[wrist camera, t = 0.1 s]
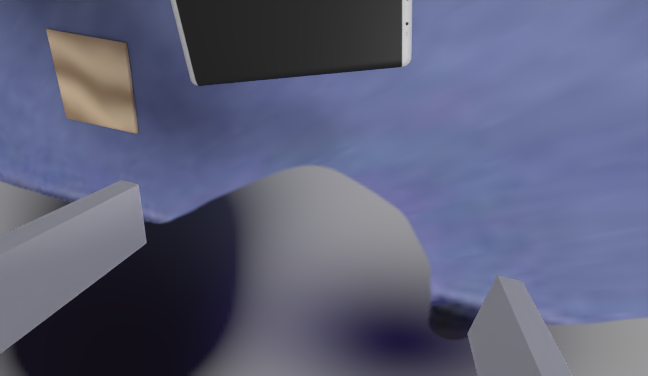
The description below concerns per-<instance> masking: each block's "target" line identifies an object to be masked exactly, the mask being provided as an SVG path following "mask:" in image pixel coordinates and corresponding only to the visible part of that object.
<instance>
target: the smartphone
mask: <svg viewBox="0 0 648 376" xmlns="http://www.w3.org/2000/svg"><path fill="white" fill-rule="evenodd" d="M170 1H171V4H172V8H173V12H174V16H175V20H176V24H177V28H178V32H179V36H180V40H181V44H182V48H183V52H184V56H185V60H186V64H187V68H188V72H189V76H190V79H191V82H192V83H193V84H194V85H196V86H203V85H213V84H224V83H235V82H245V81H256V80H267V79H278V78H288V77H299V76H310V75H320V74H331V73H342V72H352V71H363V70H374V69H384V68H395V67H404V66H406V65H408V64H409V62H410V60H411V55H412V0H170Z"/></svg>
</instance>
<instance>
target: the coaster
mask: <svg viewBox="0 0 648 376" xmlns="http://www.w3.org/2000/svg"><path fill="white" fill-rule="evenodd" d="M46 31H47V35H48V40H49V44H50V48H51V53H52V57H53V61H54V66H55V70H56V74H57V79H58V83H59V87H60V92H61V96H62V100H63V105H64V109H65V113H66V118H69V119H73V120H78V121H82V122H87V123H91V124H95V125H100V126H104V127H109V128H113V129H118V130H122V131H127V132H131V133H135V134H137V133H139V132H138V124H137V117H136V109H135V101H134V93H133V86H132V78H131V70H130V62H129V54H128V47H127V43H124V42H118V41H113V40H107V39H102V38H96V37H90V36H85V35H79V34H73V33H68V32H62V31H57V30H51V29H46Z"/></svg>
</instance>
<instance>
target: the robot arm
mask: <svg viewBox="0 0 648 376" xmlns="http://www.w3.org/2000/svg"><path fill="white" fill-rule="evenodd" d="M144 244H146V235H145V229H144V221H143V214H142V206H141V199H140V192H139V185H138V184H135V183H131V182H127V181H123V180H120V181H118V182H116V183H114V184H111V185H109V186H107V187H105V188H103V189H101V190H98V191H96V192H94V193H92V194H90V195H88V196H85V197H83V198H81V199H79V200H77V201H75V202H72V203H70V204H68V205H66V206H64V207H62V208H59V209H57V210H55V211H53V212H51V213H49V214H46V215H44V216H42V217H40V218H38V219H36V220H34V221H31V222H29V223H27V224H25V225H23V226H21V227H18V228H16V229H14V230H12V231H9V232H7V233H5V234H3V235H1V236H0V353H1V352H3V351H4V350H6V349H7V348H8V347H9V346H11V345H12V344H14V343H15V342H16V341H17V340H19V339H20V338H22V337H23V336H24V335H25V334H27V333H28V332H29V331H31V330H32V329H33V328H35V327H36V326H37V325H39V324H40V323H41V322H42V321H44V320H45V319H47V318H48V317H49V316H51V315H52V314H53V313H55V312H56V311H57V310H58V309H60V308H61V307H63V306H64V305H65V304H67V303H68V302H69V301H70V300H72V299H73V298H74V297H76V296H77V295H78V294H80V293H81V292H82V291H84V290H85V289H86V288H88V287H89V286H90V285H92V284H93V283H94V282H96V281H97V280H98V279H100V278H101V277H102V276H104V275H105V274H106V273H108V272H109V271H110V270H111V269H113V268H114V267H115V266H117V265H118V264H119V263H121V262H122V261H123V260H125V259H126V258H127V257H129V256H130V255H131V254H132V253H134V252H135V251H137V250H138V249H139V248H141V247H142V246H143V245H144ZM468 338H469V342H470V346H471V350H472V354H473V358H474V362H475V366H476V370H477V375H478V376H573V375H572V373H571V371H570V369H569V367H568V365H567V364H566V361H565V360H564V358H563V356H562V354H561V352H560V350H559V348H558V347H557V345H556V343H555V341H554V339H553V337H552V335H551V334H550V332H549V330H548V328H547V326H546V324H545V322H544V320H543V319H542V317H541V315H540V313H539V311H538V309H537V307H536V306H535V304H534V302H533V300H532V298H531V296H530V294H529V292H528V291H527V289H526V287H525V285H524V283H523V282H522V281H518V280H514V279H510V278H506V277H502V276H498V275H497V277H496V279H495V281H494V283H493V285H492V287H491V289H490V291H489V293H488V295H487V297H486V299H485V301H484V303H483V305H482V306H481V308H480V310H479V312H478V314H477V316H476V318H475V320H474V322H473V324H472V326H471V328H470V330H469V332H468Z"/></svg>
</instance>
